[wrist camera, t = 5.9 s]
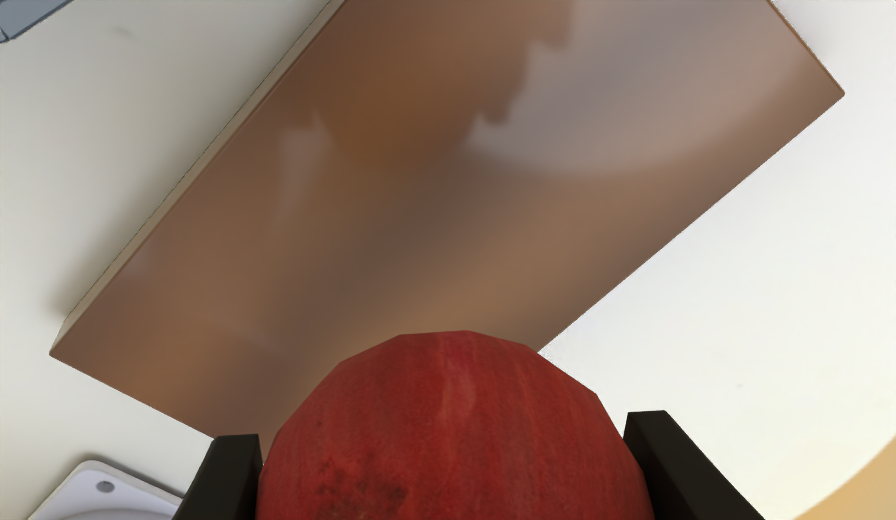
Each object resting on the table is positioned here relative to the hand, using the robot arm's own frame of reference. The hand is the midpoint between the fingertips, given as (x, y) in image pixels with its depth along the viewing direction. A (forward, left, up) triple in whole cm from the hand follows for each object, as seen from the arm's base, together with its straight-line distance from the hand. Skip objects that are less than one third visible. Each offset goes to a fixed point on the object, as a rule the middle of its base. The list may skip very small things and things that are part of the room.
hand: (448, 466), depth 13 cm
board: (0, 0, -9) cm, 9 cm away
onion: (0, 0, -3) cm, 3 cm away
